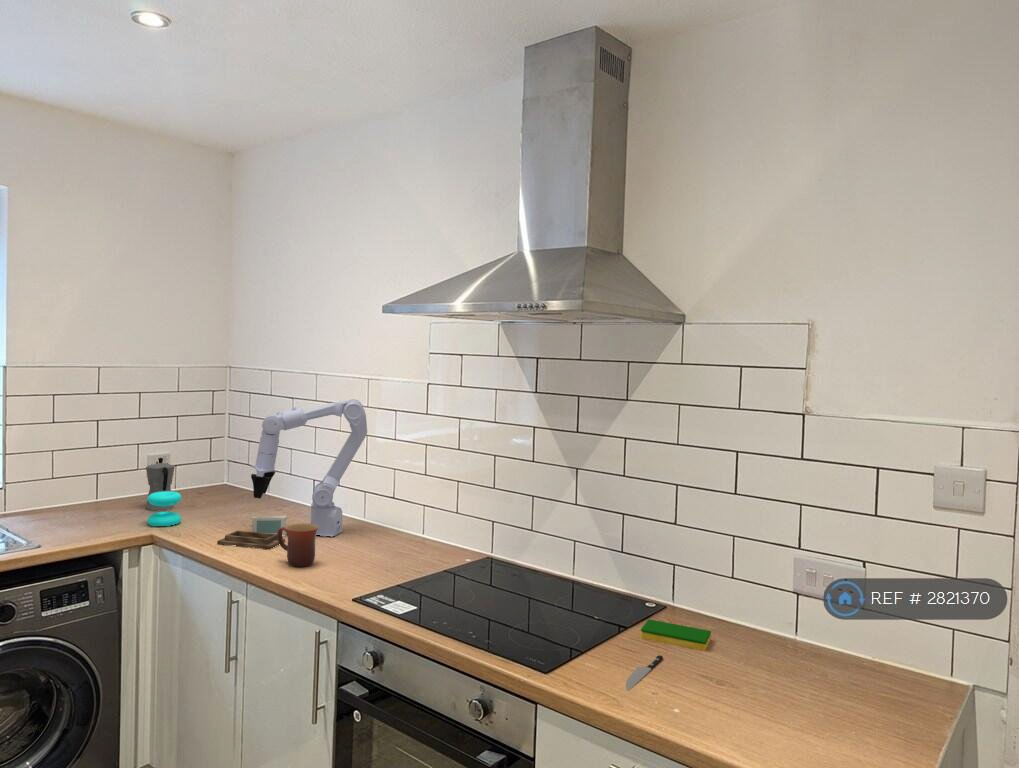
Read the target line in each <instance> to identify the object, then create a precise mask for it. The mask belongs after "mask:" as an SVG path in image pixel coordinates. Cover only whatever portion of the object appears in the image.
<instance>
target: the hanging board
mask: <svg viewBox="0 0 1019 768" xmlns="http://www.w3.org/2000/svg"><path fill="white" fill-rule="evenodd" d="M283 542H284V543H286V538H283ZM216 543H217V545H219V544H225V545H224V546H229V545H236V546H235V547H238V546H245V547H244V548H248V547H254V548H253V549H258V548H263V549H262V550H267V549H270V550H272V549H274V548H276V547H278V546H280V545H279V542H278V538H277V534H269V533H259V532H252V531H249V530H248V531H247V530H240V529H239V530H235V531H232V532H231V533H227V534H225V535H224V538H221V539H218V540H217V541H216ZM277 545H278V546H277ZM275 546H276V547H275ZM273 547H274V548H273ZM271 548H272V549H271Z"/></svg>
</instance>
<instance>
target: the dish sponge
mask: <svg viewBox="0 0 1019 768" xmlns="http://www.w3.org/2000/svg"><path fill="white" fill-rule="evenodd" d="M711 635H712V631H711V630H708V629H703V628H697V627H691V626H685V625H682V624H676V623H672V622H665V621H660V620H655V619H647V620H646V622H645V623H644V625H643V626H642V627H641V628H640V639H642V640H648V641H653V642H656V643H657V642H658V643H663V644H666V645H667V644H668V645H672V646H678V647H682V648H688V649H692V650H693V649H694V650H698V651H702V652H704V651H706V650H707V648H708V646H709V644H710V642H711V637H712V636H711Z"/></svg>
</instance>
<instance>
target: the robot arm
mask: <svg viewBox="0 0 1019 768" xmlns="http://www.w3.org/2000/svg"><path fill="white" fill-rule="evenodd" d="M332 415H333V416H337V417H340V418H342V416H344V418H345V419H346V421H347V422H348V424H349V427H350V430H351V433H350V434H349V436H348V437H347V439H346V441H345V443H344V444H343V446H342V447H341V449H340V451H339V453H338V454H337V456H336V458H335V459H334V461H333V463H332V464H331V466H330V468H329V470H328V471H327V472H326V475H324V477H323V478H322V480H321V481H320V482H319V483H317V484H316V485H315V487H314V488H313V493H312V496H311V499H312V503H311V504H310V524H314V525H317V526H318V530H317V533H316V535H320V536H319V537H326V536H331V537H330V538H334V537H336V536H338V535H339V534H341V533H342V531H343V532H344V530H343V509H342V508H341V507H339V506H336V505H335V502H334V501H333V499H334V492H335V491H336V489H337V488H338V485H339V482H340V480H341V479H342V477H343V476H344V474H345V472H346V470H348V468H349V466H350V464H351V462H352V460H354V459H353V458H354V457H355V455H356V454H357V452H358V450H359V449H360V447H361V445H362V443H364V440H365V438H366V437H367V436H368V424H367V413H366V410H365V408H364V406H363V403H362V402H361V401H360V400H358V399H355V398H354V399H350V400H348V401H347V400H341V401H334V402H330V403H327V404H324V405H320V406H317V407H314V408H311V409H310V408H309V409H307V410H305V409H303V408H301V407H299V408H298V407H296V406H294V407H292V408H291V409H290V410H286V411H282V412H280V411H277V412H276V414H270V415H268V416H266V417H265V418H264V419H263V420H262V423H261V427H262V431H261V433H260V434H261V436H260V438H259V443H258V450H257V454H256V462H255V464H254V463H253V464H251V466H250V468H254V469H255V470H256V473H251V475H250V478H251V481H252V487H253V490H252V492H253V493H252V494H253V498H254V499H262V496H263V495H265V494H266V493H267V491H268V488H269V486H270V482H271V480H272V479H273V477H274V476H275V474H276V471H275V470H276V469H275V467H276V465H275V464H276V459H277V456H278V449H279V444H280V434H281V430H283V431H288V430H292V429H296V428H300V427H303V426H306V424H307V422H308V421H310V420H314V419H320V418H324V417H328V416H332ZM333 536H334V537H333Z"/></svg>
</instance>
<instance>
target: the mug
mask: <svg viewBox="0 0 1019 768" xmlns="http://www.w3.org/2000/svg"><path fill="white" fill-rule="evenodd" d="M283 530H284V531H286V536H287V544H286V542H283V539H284V538H283V536H282V531H283ZM317 530H318V526H317V525H314V524H311V523H293V524H289V525H286V527H282V528H280V529H279V530H278V533H277V538H278V542H279V544H280V545H279V546H280V547H281V548H282V549H283V550H284V551H286V553H287V554H286V559H287V563H288V565H289V566H291V567H293V566H294V568H306V567H309V566H311V565H313V563H315V559H316V538H317V536H316V533H317ZM305 566H306V567H305Z"/></svg>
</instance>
